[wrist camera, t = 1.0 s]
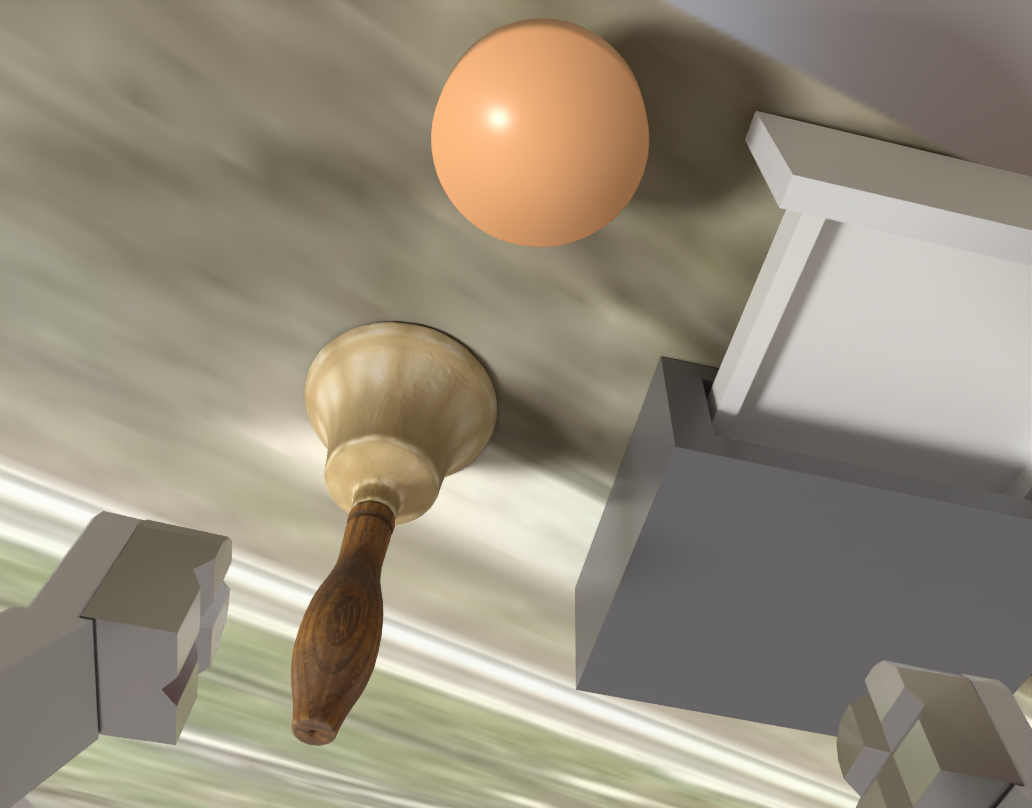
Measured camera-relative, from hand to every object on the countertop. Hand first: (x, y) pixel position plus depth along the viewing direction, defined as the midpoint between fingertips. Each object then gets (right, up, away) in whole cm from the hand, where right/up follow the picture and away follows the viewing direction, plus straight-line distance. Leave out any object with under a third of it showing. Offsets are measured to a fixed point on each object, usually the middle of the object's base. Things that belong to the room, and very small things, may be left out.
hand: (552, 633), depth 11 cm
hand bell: (-5, +3, +27) cm, 28 cm away
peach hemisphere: (0, +11, +16) cm, 20 cm away
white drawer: (+15, +6, +23) cm, 28 cm away
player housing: (+13, -3, +29) cm, 32 cm away
